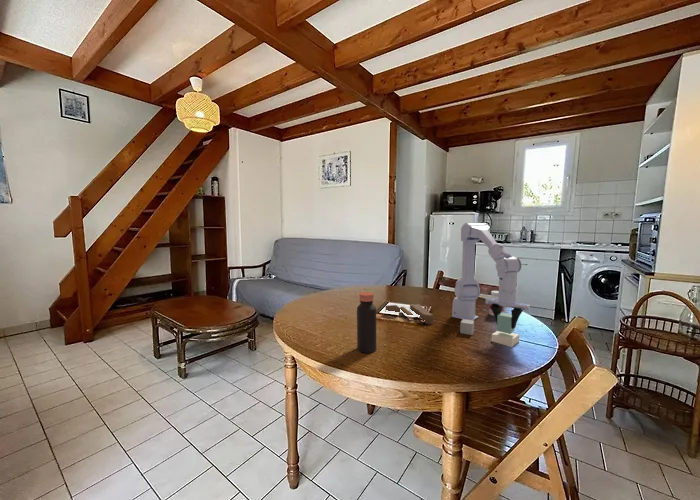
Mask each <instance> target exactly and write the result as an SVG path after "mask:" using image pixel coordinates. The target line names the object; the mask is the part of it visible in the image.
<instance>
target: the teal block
mask: <svg viewBox="0 0 700 500" xmlns="http://www.w3.org/2000/svg"><path fill="white" fill-rule="evenodd" d="M496 331H500V332H504V333H508V334H511V333H514V332H515V328H514V329H513V328H512V313H508V312H502V313H500V314H498V316H497V323H496Z"/></svg>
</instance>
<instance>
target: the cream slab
mask: <svg viewBox="0 0 700 500" xmlns="http://www.w3.org/2000/svg"><path fill="white" fill-rule="evenodd" d="M491 342H494V343H496V344H499V345H500V344H501V345H504V346H506V347H507V346H508V347H510V348H513V347H514V346H515V345H516V344H518V343H519V342H520V334H519V333H514V332H512V333H511V334H508V333H504V332H500V331H497V330H496V331H495V332H493V333H492V334H491Z"/></svg>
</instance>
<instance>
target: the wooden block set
mask: <svg viewBox="0 0 700 500" xmlns="http://www.w3.org/2000/svg"><path fill="white" fill-rule="evenodd" d="M400 309H401V310H402V311H403V312H404V313H406V314H407V315H413V314H412V313H411V312H410V309H411V310H412V311H414V312H415V313H416V314H418V315H420V316H421V318H422V319H424V320H425V323H424V324H426V325H427V324H428V325H433V324H434V315H433V313H431V312H430V311H428V310H427V309H426V308H424V307H423V306H422V305H421V304H419V303H415V304H414V303H411V304H409V310H408V309H407V308H406V307H405V306H400V307H399V306H398V305H396V304H394V305H393V304H392V305H385V311H386V310H388V311H395V312H400Z"/></svg>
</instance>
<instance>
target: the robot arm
mask: <svg viewBox="0 0 700 500" xmlns="http://www.w3.org/2000/svg"><path fill="white" fill-rule="evenodd" d="M460 241H461V242H462V258H461V259H462V262H461V264H462V265H461V266H462V267H461V278H459V279H457V280H456V281H455V287H454V295H455V296H456V297H454V298H453V300H452V306H451V307H452V315H451V317H452V318H456V319H461V320H462V319H466V320H472V321H475V320H476V319H478V318H479V315H476V300H478V298H479V297H480V295H481V289H480V282H479V281H478V280H477V279H475V265H476V264H475V263H476V262H475V259H476V253H475V252H476V244H477V243H478V242H479V241H481V242H482V243H483V244H484V245H485V246H486V247H487V248H488V249H487V252H488V254H489V255H490V257H491V259H492V260H493V261H494V262H495V263H496V264H495V269H496V271H497V277H498V291H499V293H498V299H493V298H489V297H486V298H485V302H484V303H485V304H486V305H489V304H492V306H491V309H492V311H493V313H494V316H493V317H494V318H495V322H496V324H497V316H498V314H500V313H501V310H502V306H504V307H505V308H510V309H511V313H510V314H512V328H513V329H514V330H515V328H516V326H517V323H518V321H519V318H520V316H521V314H522V313H523V311H525V312H530V311H531V304H526V303H522V302H518V301H517V286H518V285H517V282H518V280H517V279H518V273H519V272H520V271H521V270H522V261H521V260H520V258H519V256H515V255H512V254H511V253H510V252H509V251H508V250H507V249H506V247H505V246H504V244H503V243H498V242H497V241H496V240H495V238H494V237H493V235H492V234H491V227H490V226H489V224H488V223H486V222H472V223H471V222H470V223H469V222H465V223H464V224H462V226H461V228H460Z"/></svg>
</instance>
